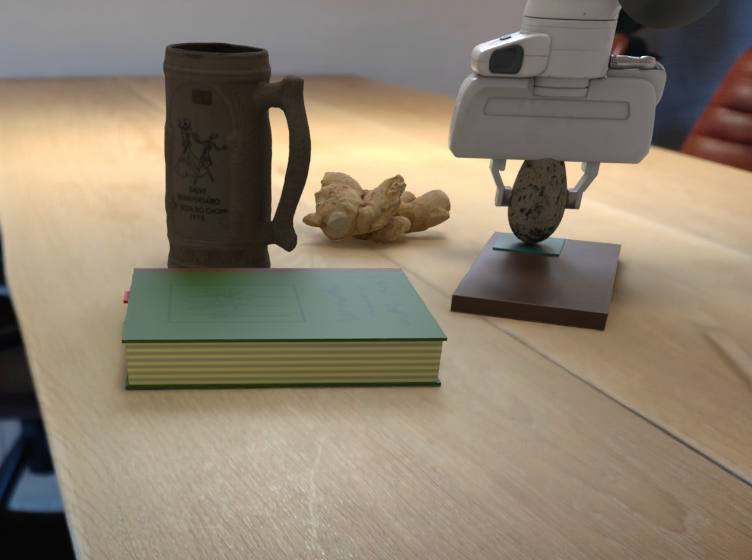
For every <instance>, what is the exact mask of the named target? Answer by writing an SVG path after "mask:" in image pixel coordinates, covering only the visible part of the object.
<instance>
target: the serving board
mask: <svg viewBox="0 0 752 560" xmlns="http://www.w3.org/2000/svg"><path fill="white" fill-rule="evenodd" d="M621 249H622V244H619V243H611V242H610V243H609V242H600V241H591V240H582V239H581V240H580V239H572V238H571V239H570V238H563V237H562V238H560V237H551V236H550V237H548V238H547V239H545V240H544V241H542V242H539V243H534V244H530V243H525V242H523V241H521V240H519V239H518V238H517V237H516V236H515V235H514V234H513V232H502V231H494V232H493V233H492V234H491V236H490V238H489V239H488V241H487V242H486V244H484V246H483V248H482V250H481V251H480V252H479V254H478V255H477V257H476V259H475V260H474V261H473V263H472V264H471V266H470V267H469V269H468V271H467V272H466V274H465V275H464V277H462V279H461V281H460V283H459V284H458V285H457V287H456V288H455V290H454V292H453V293H452V295H451V301H450V307H449V309H450V310H449V311H450V312H455V313H465V314H473V315H481V316H488V317H489V316H490V317H497V318H505V319H512V320H519V321H520V320H521V321H529V322H536V323H543V324H544V323H545V324H552V325H561V326H569V327H576V328H583V329H590V330H591V329H592V330H599V331H600V330H601V331H605V328H606V324H607V320H608V316H609V312H610V311H609V310H610V306H611V301H612V295H613V290H614V285H615V280H616V274H617V269H618V264H619V259H620V254H621Z"/></svg>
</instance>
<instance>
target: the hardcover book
mask: <svg viewBox="0 0 752 560" xmlns="http://www.w3.org/2000/svg"><path fill="white" fill-rule="evenodd" d="M129 289H130V290H125V291H124V295H123V299H122V301H123V304H125V305H126V304H127V307H126V312H125V318H124V323H123V330H122V336H121V344H125V351H126V364H127V365H126V366H127V374H126V379H125V390H159V389H160V390H171V389H172V390H175V389H176V390H177V389H178V390H179V389H185V390H186V389H187V390H188V389H274V388H275V389H277V388H281V389H282V388H283V389H285V388H291V389H292V388H294V389H295V388H383V387H384V388H385V387H387V388H388V387H390V388H392V387H393V388H394V387H442V381H441V380H440V378H439V373H440V368H441V367H440V365H441V360H442V359H441V357H442V351H443V344H444V342H448V336H447V334H445V331H443V329H442V327H441V326H440V324H439V323H438V321H437V319H436V318H435V317H434V316H433V313H432V312H431V311H430V309H429V308H428V306H427V305H426V303H425V302H424V300H423V298H422V297H421V296H420V294H419V293H418V291H417V290H416V288H415V286H414V285H413V283H412V282H411V281H410V279H409V278H408V276H407V275H406V273H405V271H404V270H403V269H402V267H270V268H168V267H134V268H133V272H132V277H131V284H130V288H129Z"/></svg>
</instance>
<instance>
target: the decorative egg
mask: <svg viewBox="0 0 752 560" xmlns="http://www.w3.org/2000/svg"><path fill="white" fill-rule="evenodd" d="M566 168H567V167H566V163H565V162H564V161H557V160H554V159H551V158H544V159H540V160H523V162H522V164H521V166H520V168H519V169H518V172H517V174H516V177H515V179H514V182H513V185H512V186H511V188H512V189H513V191H512V197H511V198H510V200H511V203H510V207H507V220H508V226H509V228H510V230H511V233H513V234H514V235H515V236H516V237H517V238H518V239H519V240H521V241H523V242H525V243H530V244H534V243H539V242H542V241H544V240H545V239H547V238H548V237H551V236H552V235H553V234H554V233H555V232H556V231H557V229H558V227H559V226H560V225H561V222H562V220H563V218H564V214H565V211H566V209H565V207H566V200H567V188H568V178H567V177H568V176H567V169H566Z"/></svg>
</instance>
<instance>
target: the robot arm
mask: <svg viewBox="0 0 752 560" xmlns="http://www.w3.org/2000/svg"><path fill="white" fill-rule="evenodd" d="M720 1H721V0H527V2H526V4H525V7H524V10H523V14H522V15H523V16H522V21H521V28H520V29H519V31H516V32H513V33H509V34H505V35H502V36H500V37H498V38H494V39H492V40H487V41H485V42H482V43H479V44H477V45H475V46H474V47H473V49H472V50H471V55H470V68H471V70H472V71H473V72H472V73H470V74H469V75H467V76H466V77H465V79H464V80H463V81H462V83H461V84H460V87H459V89H458V92H457V94H456V99H455V102H454V106H453V110H452V114H451V120H450V124H449V125H450V126H449V131H448V138H447V147H448V150H449V151H450V152H451V154H452V155H453V156H454V157H455V158H458V159H479V160H480V159H482V160H489V166H488V168H489V170H490V173H491V176H492V179H493V181H494V184H495V185H494V186H496V189H495V196H494V206H495V207H496V208H497V207H498V208H501V207H503V208H508V207H510V203H511V200H510V198H511V197H512V191H513V189H512V186H511V185H505V184H504V182H503V181H504V180H503V179H502V176H501V173H500V172H505V170H506V165H507V161H508V160H510V161H511V160H512V161H524V160H540V159H544V158H551V159H554V160H557V161H564V162H566V163H567V162H568V163H581V165H580V171H582V172H583V174H582V175H581V177H580V179H579V180H578V181H577V183H576V184H575V186H574V187H567V200H566V207H565V210H577V211H578V210H580V208H581V205H582V199H583V195H584V193H585V192H586V190H588V188H589V187H590V186H591V184H592V183H593V182H594V180H595V179H596V178H597V176H599V170H600V166H601V164H621V165H622V164H624V165H639V164H640V163H641V162H642V161H643V160H644V159H645V158H646V157H647V156H648V155H649V153H650V150H651V145H652V139H653V135H654V134H653V133H654V127H655V118H656V117H655V116H656V107H657V106H658V105H659V103H660V101H661V100H662V98H663V94H664V90H665V87H666V83H667V71H666V68H665V67H664V65H663V64H662V63H660V62H659V61H657V60H656V59H657V58H656V57H653V56H649V55H643V56H632V55H630V56H629V55H622V54H621V55H619V54H611V53H612V49H613V44H614V39H615V35H616V29H617V25H618V19H619V14H620V12H621V10H623V11H624V12H625V14H626V15H627V16H628V17H629V18H631V19H632V20H633V21H634V22H636V23H637V24H639V25H641V26H643V27H645V28H650V29H655V30H673V29H677V28H681V27H684V26H687V25H689V24H691V23H693V22H696V21H697V20H699V19H700V18H702V17H704V16H705V15H706V14H708V13H709V12H710V11H711V10H712V9H713V8H714V7H715V6H717V4H718V3H720ZM654 68H657V69H654Z"/></svg>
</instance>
